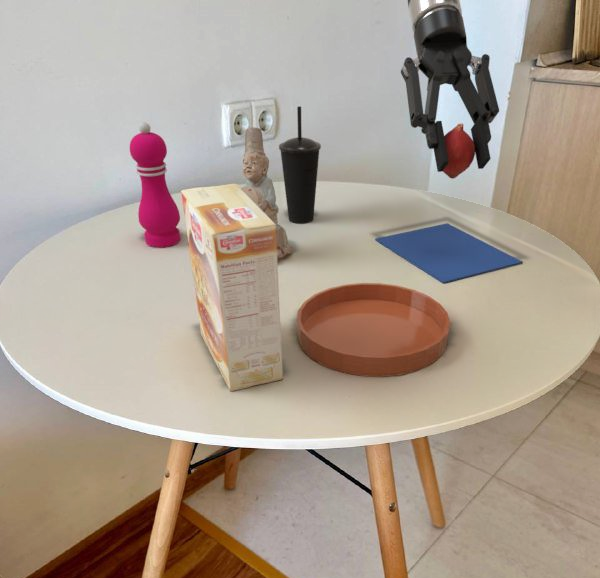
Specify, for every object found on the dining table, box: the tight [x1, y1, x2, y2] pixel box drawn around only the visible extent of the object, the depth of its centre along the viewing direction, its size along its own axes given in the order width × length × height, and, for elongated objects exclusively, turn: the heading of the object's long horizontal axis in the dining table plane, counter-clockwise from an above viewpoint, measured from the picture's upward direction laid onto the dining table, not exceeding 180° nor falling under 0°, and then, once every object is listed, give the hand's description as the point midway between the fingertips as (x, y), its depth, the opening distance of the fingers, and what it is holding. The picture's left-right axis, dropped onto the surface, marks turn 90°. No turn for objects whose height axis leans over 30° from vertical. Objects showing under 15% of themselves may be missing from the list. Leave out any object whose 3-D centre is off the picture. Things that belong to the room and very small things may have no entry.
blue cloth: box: [374, 222, 524, 284], centre depth 102 cm, size 20×16×1 cm
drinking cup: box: [278, 106, 322, 224], centre depth 109 cm, size 8×8×20 cm
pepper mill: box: [129, 122, 181, 248], centre depth 102 cm, size 7×7×20 cm
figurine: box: [240, 127, 293, 260], centre depth 96 cm, size 9×8×20 cm
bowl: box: [296, 282, 451, 377], centre depth 79 cm, size 20×20×3 cm
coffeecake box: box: [180, 183, 284, 392], centre depth 70 cm, size 15×7×20 cm, turn 21°
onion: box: [442, 122, 476, 180], centre depth 90 cm, size 6×6×8 cm
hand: (463, 165), depth 88 cm, fingers closed on onion, 6 cm apart
